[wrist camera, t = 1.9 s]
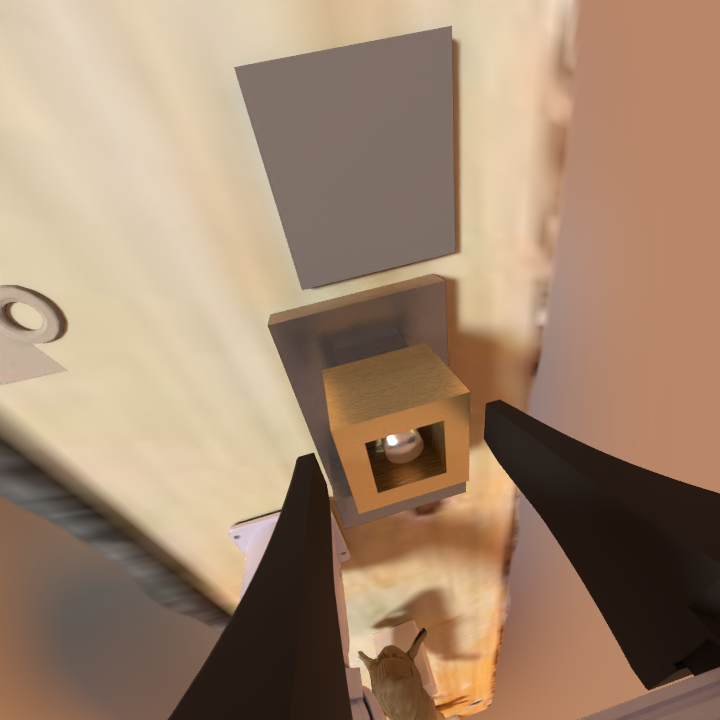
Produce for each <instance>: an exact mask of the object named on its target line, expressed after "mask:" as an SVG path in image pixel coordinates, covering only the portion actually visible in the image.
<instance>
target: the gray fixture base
mask: <svg viewBox="0 0 720 720" xmlns="http://www.w3.org/2000/svg"><path fill="white" fill-rule="evenodd" d="M268 327H269V330H270V332H271V335H272V338H273V340H274V343H275V345H276V348H277V350H278V353H279V355H280V358H281V360H282V363H283V365H284V368H285V370H286V373H287V375H288V378H289V380H290V383H291V385H292V388H293V390H294V393H295V396H296V398H297V401H298V403H299V406H300V408H301V411H302V413H303V416H304V418H305V421H306V423H307V426H308V428H309V431H310V433H311V436H312V438H313V441H314V443H315V446H316V448H317V451H318V454H319V456H320V459H321V461H322V464H323V466H324V469H325V471H326V474H327V476H328V479H329V481H330V484H331V486H332V489H333V496H334V502H335V504H336V507H337V509H338V512H339V514H340V517H341V519H342V522H343V524H344V527H345V529H347V528H350V527H354V526H357V525H360V524H363V523H367V522H370V521H373V520H376V519H380V518H383V517H386V516H389V515H393V514H396V513H399V512H402V511H406V510H409V509H412V508H415V507H419V506H422V505H425V504H428V503H431V502H435V501H438V500H441V499H444V498H448V497H451V496H454V495H457V494H461V493H464V492H466V481H465V482H462V483H459V484H456V485H452V486H449V487H446V488H443V489H439V490H436V491H433V492H429V493H426V494H423V495H420V496H416V497H413V498H410V499H407V500H403V501H400V502H397V503H393V504H390V505H387V506H384V507H380V508H377V509H374V510H370V511H367V512H364V513H361V514H359V512H358V509H357V506H356V503H355V500H354V497H353V494H352V492H351V489H350V486H349V483H348V480H347V477H346V474H345V471H344V468H343V465H342V462H341V459H340V456H339V454H338V451H337V448H336V445H335V442H334V439H333V436H332V433H331V429H330V422H329V415H328V408H327V401H326V393H325V386H324V379H323V372H322V370H325V369H329V368H332V367H336V366H340V365H344V364H347V363H351V362H355V361H359V360H362V359H366V358H370V357H374V356H377V355H381V354H385V353H388V352H392V351H396V350H400V349H403V348H407V347H411V346H415V345H418V344H422V343H427V345H428V346H429V347H430V348H431V349H432V350H433V351H434V352H435V353H436V354H437V356H438V357H439V358H440V359H441V360H442V361H443V362H444V363H445V364H446V366H447V367H448V343H447V315H446V286H445V280H444V279H442V278H440V277H438V276H436V275H434V274H430V275H426V276H423V277H419V278H415V279H411V280H407V281H403V282H399V283H395V284H391V285H387V286H383V287H379V288H375V289H371V290H367V291H363V292H359V293H355V294H351V295H347V296H343V297H339V298H335V299H331V300H327V301H323V302H319V303H315V304H311V305H307V306H303V307H299V308H295V309H291V310H287V311H283V312H279V313H275V314H271V315H270V318H269V322H268ZM380 440H381V443H382V445H383V448H384V451H385V454H386V457H387V458H388V460H390V461H391V462H393V463H406V462H409V461H411V460H413V459H415V458H416V457H417V456H419V454H420V453H421V452H422V450H423V447H424V443H423V440H422V438H421V436H420V434H419V433H418V431H417V429H412V430H409V431H405V432H402V433H399V434H395V435H392V436H388V437H385V438H381V439H380Z"/></svg>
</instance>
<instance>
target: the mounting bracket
mask: <svg viewBox="0 0 720 720" xmlns="http://www.w3.org/2000/svg"><path fill="white" fill-rule="evenodd" d="M9 302H21V303H25V304H28V305H29V306H31V307H33V308H35V309H36V310H37V311H38V312H39V313H40V315H41V317H42V319H43V325H42V326H41V328H40V329H38V330H29V329H25V328H21V327H20V326H18V325H16V324H14V323H13V322H12V321H11V320H10V319H9V318H8V316H7V315H6V313H5V307H6V305H7V304H8V303H9ZM63 331H64V319H63V317H62V315H61V313H60V311H59V309H58V308H57V307H56V306H55V305H54V304H53V303H52V302H51V301H50V300H49V299H48V298H46V297H44V296H43V295H41V294H39V293H38V292H36V291H34V290H31V289H28V288H24V287H21V286H18V285H1V286H0V385H3V384H8V383H12V382H17V381H22V380H26V379H31V378H36V377H41V376H45V375H50V374H55V373H60V372H64V371H68V370H67V369H65V368H64V367H63V366H61V365H60V364H59V363H57V362H56V361H55V360H53V359H52V358H50V357H49V356H48V355H46V354H45V353H44V352H42V351H41V350H39V349H38V348H37V347H35V346H34V345H33V344H36V343H48V342H51V341H53V340H56V339H58V338H59V337H60V335H61V334H62V333H63Z"/></svg>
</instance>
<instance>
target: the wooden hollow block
mask: <svg viewBox="0 0 720 720" xmlns="http://www.w3.org/2000/svg"><path fill="white" fill-rule="evenodd" d="M322 372H323V379H324V386H325V393H326V401H327V408H328V415H329V422H330V429H331V433H332V436H333V439H334V442H335V445H336V448H337V451H338V454H339V456H340V459H341V462H342V465H343V468H344V471H345V474H346V477H347V480H348V483H349V486H350V489H351V492H352V494H353V497H354V500H355V503H356V506H357V509H358V512H359V514H361V513H364V512H367V511H370V510H374V509H377V508H380V507H384V506H387V505H390V504H393V503H397V502H400V501H403V500H407V499H410V498H413V497H416V496H420V495H423V494H426V493H429V492H433V491H436V490H439V489H443V488H446V487H449V486H452V485H456V484H459V483H462V482H465V481H469V438H470V391H469V390H468V389H467V388H466V386H465V385H464V384H463V383H462V382H461V381H460V380H459V379H458V378H457V377H456V375H455V374H454V373H453V372H452V371H451V370H450V369H449V368H448V367H447V366H446V364H445V363H444V362H443V361H442V360H441V359H440V358H439V357H438V356H437V354H436V353H435V352H434V351H433V350H432V349H431V348H430V347H429V346H428V345H427V343H422V344H418V345H415V346H411V347H407V348H403V349H400V350H396V351H392V352H388V353H385V354H381V355H377V356H374V357H370V358H366V359H362V360H359V361H355V362H351V363H347V364H344V365H340V366H336V367H332V368H329V369H325V370H322ZM412 429H417V431H418V433H419V434H420V436H421V438H422V440H423V443H424V447H423V450H422V452H421V453H420V454H419V456H417V457H416V458H415V459H413V460H411V461H409V462H406V463H393V462H391V461H390V460H388V458H387V457H386V454H385V451H384V448H383V445H382V443H381V440H380V439H381V438H385V437H388V436H392V435H395V434H399V433H402V432H405V431H409V430H412Z"/></svg>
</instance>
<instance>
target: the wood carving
mask: <svg viewBox="0 0 720 720" xmlns="http://www.w3.org/2000/svg"><path fill="white" fill-rule="evenodd" d="M426 633H427V631H426V630H425V628H422V630H421V631H420V630H419V629H418V627H417V625H416V623H415V621H414V620H410V621H408V622H405V623H403V624H400V625H397V626H395V627H392V628H389V629H387V630H384V631H381V632H379V633H376V634H373V640H374V646H375V652H376V658H377V659H372V658H369V657H368V656H366V655H365V654H364V653H363V652H362V651H359V652H358V653H359V655H360V657H359V656H358V657H359V658H360V659H361V660H362V661H363V662H364V664H365V666H366V667H367V669H368V671H369V674H370V678H371V686H372V693H373V694H374V696H375V697H376V699H377V701H378V703H379V705H380V706H381V708H382V710H383V712H384V713H385V714H386V715H387V716H388V717H389V719H390V720H437V715H436V706H435V702H434V700H431V696H432V695H434V694H437V693H438V691H437V688H436V684H435V681H434V677H433V674H432V670H431V667H430V663H429V660H428V656H427V653H426V649H425V646H424V642H423V640H424V638H425V637H426Z"/></svg>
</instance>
